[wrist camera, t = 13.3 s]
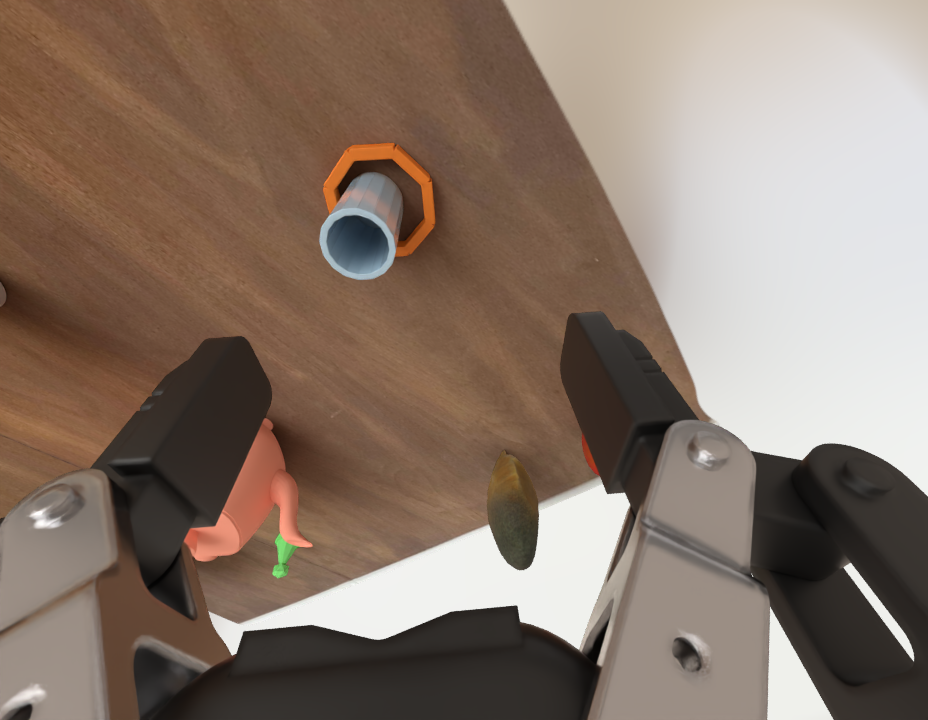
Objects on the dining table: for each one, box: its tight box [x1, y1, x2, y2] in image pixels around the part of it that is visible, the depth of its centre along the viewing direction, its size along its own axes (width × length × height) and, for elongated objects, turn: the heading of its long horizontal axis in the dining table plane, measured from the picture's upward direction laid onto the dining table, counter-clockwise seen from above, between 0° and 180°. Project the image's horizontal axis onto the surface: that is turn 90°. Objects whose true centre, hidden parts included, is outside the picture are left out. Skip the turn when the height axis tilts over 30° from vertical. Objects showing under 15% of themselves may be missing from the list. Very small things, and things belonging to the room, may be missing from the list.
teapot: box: [184, 418, 313, 561], centre depth 40 cm, size 16×17×14 cm
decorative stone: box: [487, 450, 539, 570], centre depth 44 cm, size 10×6×15 cm, turn 176°
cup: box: [319, 172, 404, 280], centre depth 26 cm, size 4×4×9 cm
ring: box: [323, 143, 435, 257], centre depth 29 cm, size 8×8×1 cm
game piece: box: [272, 534, 300, 578], centre depth 59 cm, size 4×4×6 cm
